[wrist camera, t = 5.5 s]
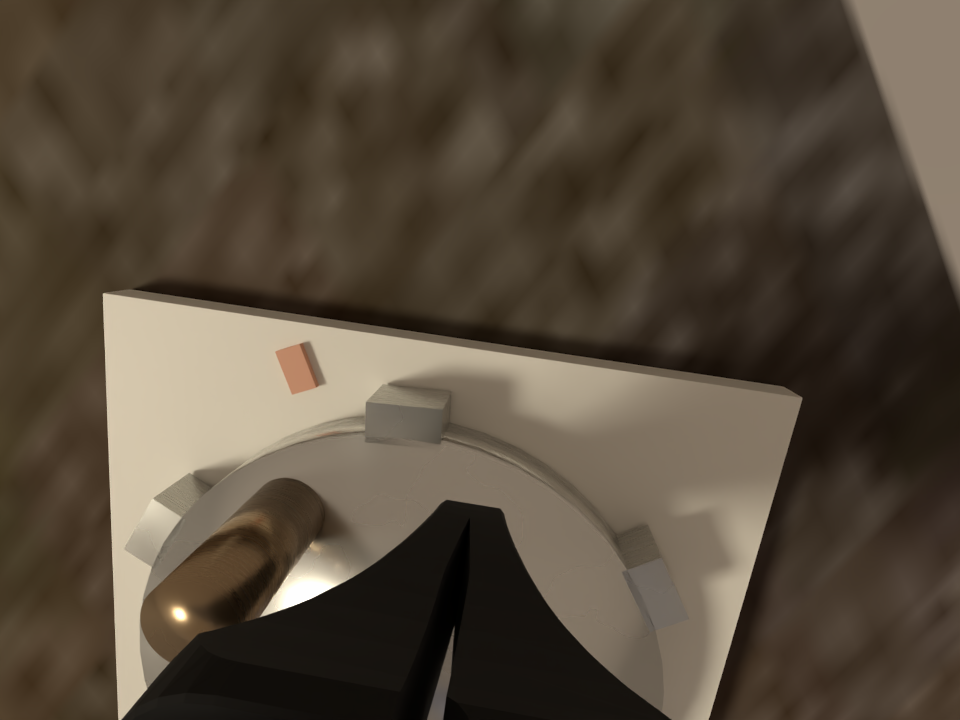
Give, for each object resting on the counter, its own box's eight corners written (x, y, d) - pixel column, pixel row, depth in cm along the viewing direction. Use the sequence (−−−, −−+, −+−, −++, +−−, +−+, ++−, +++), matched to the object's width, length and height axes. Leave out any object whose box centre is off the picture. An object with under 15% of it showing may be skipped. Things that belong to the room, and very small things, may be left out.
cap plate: (643, 885, 18) (650, 930, 17) (142, 785, 19) (117, 820, 18) (783, 386, 14) (806, 400, 13) (130, 289, 15) (97, 293, 14)
